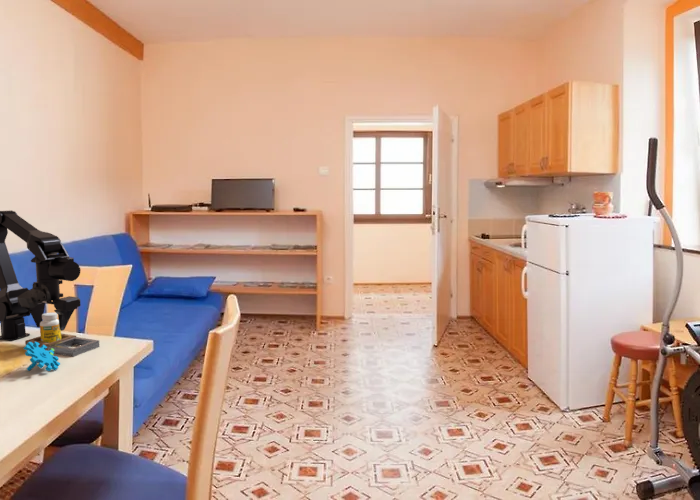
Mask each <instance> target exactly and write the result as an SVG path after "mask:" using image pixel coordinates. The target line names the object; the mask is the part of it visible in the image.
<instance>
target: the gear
mask: <svg viewBox="0 0 700 500" xmlns="http://www.w3.org/2000/svg"><path fill="white" fill-rule="evenodd" d="M38 346H39V343H38V342H34V343H32V342H28V343H27V344H25V346H24V347H23V350H25V351H24V355H25V356H26V357H30V358H29V361H30V362H31V364H29V366H27V367H26V371H28V372H30V371H31V370H33V369H34V368H35V367H36V366H37V367H39V368H40V369H43V368H44V367H45V370H46V371H48V372H51V370H52V371H56V370H58V369H59V366H60V365H61V362H59V361H60V359H59V357H58V356H57V355H55V354H54V351H55V350H54V349H53V348H51V349H50V350H49V351H47V350H45V349H46V348H47V347H46V346H45V345H42V346H41V348H40V347H38Z"/></svg>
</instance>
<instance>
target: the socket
mask: <svg viewBox="0 0 700 500" xmlns="http://www.w3.org/2000/svg"><path fill="white" fill-rule="evenodd" d="M80 345H81V346H80ZM72 346H73V347H72ZM74 346H76V347H74ZM51 348H53V349H54V350H55V351H54V354H53V355H60V356H68V357H73V358H74V357H76V356H79V355H82V354H83V353H87V352H89V351H92V350H95V349H98V348H100V340H99V339H98V340H97V339H90V338H85V337H77V336H76V337H73V338H70V339H67V340H64V341H61V342H58V343H55V344H52V345H49V346H48V351H49V350H50V349H51Z"/></svg>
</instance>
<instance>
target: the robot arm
mask: <svg viewBox="0 0 700 500" xmlns="http://www.w3.org/2000/svg"><path fill="white" fill-rule="evenodd" d="M8 230H9V231H10V232H12V233H13V234H14V235H16V236H17V237H18V238H19V239H21V240H22V241H24V242H25V243H26V248H27V249H28V251H30V253H31V254H32V255H34V257H33V258H31V260H30V262H31V263H35V272H36V273H35V274H36V275H35V277H36V281H33V283H32V288H31V289H29V288H28V287H22V285H20V283H19V281H18V277H17V274H16V272H15V269H14V266H13V262H12V259H11V257H10V256H11V255H10V253H9V251H8V248H7V245H6V239H7V236H8V233H9V231H8ZM74 259H75V258H74V257H71V256H70V255H69V252H68V250H66V248H65V246H64V244H63V242H62V241H61V239H60V238H59V236H58V235H55V234H52V233H50V232H47V231H42V230H40V229H38V228H36V227H35V226H34V225H32V224H31V223H29V221H27V220H25V219H24V218H23V217H21V216H20V215H18V213H17V212H16V211H15V210H0V340H4V341H14V340H18V339H21V338H25V337H28V336H30V335H31V334H30V333H29V332H26V322H25V317H30V316H32V319H33V322H34V323H35V325H36V327H37V328H40V323H41V321H43V319H42V314H45V307H46V304H47V305H53V307H54V308H55V309H54V310H53V311H54V312H55V313H57V319H58V320H59V327H60V330H61V332H62V331H64V330H65V329H66V327H67V324H68V323H69V320H70V319H71V317H72V316H73V313H74V312H75V310H77V309H78V308H79V307H81V306H82V305H81V299H80V298H79V297H77V296H69V295H68V296H65V297H64V293H62V292H61V291H60V285H62V284H63V283H64V281H68V282H74V281H76V280H77V279H78V278H79V277H80V275H81V267H80V265H79V263H77V262H76V261H74Z"/></svg>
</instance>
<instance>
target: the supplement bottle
mask: <svg viewBox="0 0 700 500" xmlns="http://www.w3.org/2000/svg"><path fill="white" fill-rule="evenodd" d="M42 319H43V321H41V323H40V327H39V331H40V334H39V335H40V336H41V342H47V343H51V342H54V341H57V340H60V339H61V334H62V331H61V330H60V327H59V319H58V314H57V313H56V312H55V311H54V312H44V314H42Z"/></svg>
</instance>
